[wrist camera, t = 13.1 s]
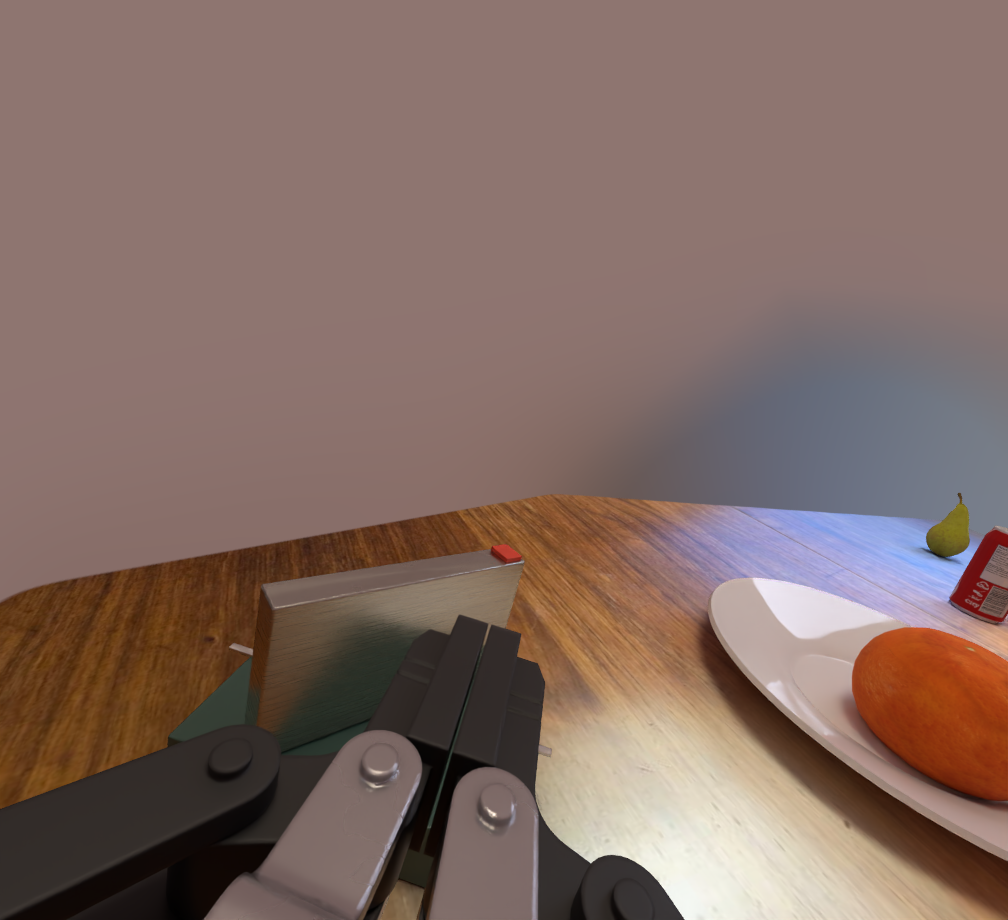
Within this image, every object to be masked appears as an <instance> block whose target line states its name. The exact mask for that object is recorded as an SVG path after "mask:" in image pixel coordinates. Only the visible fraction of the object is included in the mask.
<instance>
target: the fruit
mask: <svg viewBox="0 0 1008 920" xmlns="http://www.w3.org/2000/svg"><path fill="white" fill-rule="evenodd" d="M958 496H959V498H960V503H959V504H958V505H957V506H956V508H955V509H954V510H953V511H951V512H950V513H949V514H948V516H947V517H946V518H945V519H944V520H943V521H942V522H941V523H939V524H937V525H935V526H933V527H932V528H931V529H930V530H929V531H928V533H927V536H926V541H927V545H928V547H929V549H930V550H931V551H932V552H934V553H935V554H937V555H940V556H944V557H950V556H954V555H957V554H959V553H961V552H963V551H964V550H966V548H967V547H968V545H969V542H970V539H969V532H968V527H969V514H968V509H967V507H966V506H965V505H964V504H962V496H961V493H958Z"/></svg>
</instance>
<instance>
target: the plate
mask: <svg viewBox="0 0 1008 920" xmlns="http://www.w3.org/2000/svg"><path fill="white" fill-rule="evenodd" d="M708 615H709V619H710V622H711V625H712V628H713V630H714V632H715V634H716V636H717V638H718V639H719V641H720V643H721V644H722V646H723V647H724V649H725V650H726V652H727V653H728V654H729V656H730V657H731V658H732V660H733V661H734V662H735V664H736V665H737V666H738V667H739V668H740V670H741V671H742V672H743V673H744V674H745V675H746V677H747V678H748V679H749V680H750V681H751V682H752V683H753V684H754V685H755V686H756V687H757V688H758V689H759V690H760V691H761V692H762V694H763V695H765V696H766V697H767V698H768V699H769V700H770V701H771V702H772V703H773V704H774V705H775V706H776V707H777V708H778V709H779V710H780V711H781V712H782V713H784V714H785V715H786V716H787V717H788V718H789V719H791V720H792V721H793V722H794V723H795V724H796V725H797V726H799V727H800V728H801V729H802V730H803V731H804V732H806V733H807V734H808V735H809V736H811V737H812V738H813V739H814V740H816V741H817V742H818V743H819V744H821V745H822V746H823V747H824V748H826V749H827V750H828V751H830V752H831V753H832V754H834V755H835V756H836V757H838V758H839V759H840V760H842V761H843V762H844V763H846V764H847V765H848V766H850V767H851V768H852V769H854V770H855V771H857V772H858V773H859V774H861V775H862V776H864V777H865V778H867V779H868V780H870V781H871V782H873V783H874V784H875V785H877V786H878V787H880V788H881V789H883V790H884V791H886V792H887V793H889V794H890V795H892V796H893V797H895V798H897V799H898V800H900V801H901V802H903V803H904V804H906V805H908V806H909V807H911V808H912V809H914V810H915V811H917V812H919V813H920V814H922V815H924V816H925V817H927V818H929V819H930V820H932V821H934V822H935V823H937V824H939V825H941V826H942V827H944V828H946V829H947V830H949V831H951V832H953V833H954V834H956V835H958V836H960V837H962V838H964V839H965V840H967V841H969V842H971V843H973V844H975V845H976V846H978V847H980V848H982V849H984V850H986V851H988V852H990V853H992V854H994V855H996V856H998V857H1000V858H1002V859H1004V860H1006V861H1008V662H1007V661H1006V660H1004V659H1003V658H1001V657H999V656H998V655H996V654H994V653H993V652H991V651H989V650H987V649H985V648H983V647H981V646H979V645H977V644H975V643H973V642H970V641H968V640H965V639H963V638H960V637H957V636H954V635H952V634H949V633H945V632H942V631H939V630H935V629H930V628H914V627H912V626H910V625H907V624H905V623H903V622H901V621H899V620H896V619H894V618H892V617H890V616H887V615H885V614H883V613H880V612H878V611H875V610H873V609H870V608H868V607H866V606H863V605H860V604H858V603H855V602H853V601H850V600H847V599H844V598H841V597H839V596H836V595H833V594H830V593H826V592H823V591H820V590H817V589H813V588H810V587H806V586H802V585H798V584H794V583H789V582H784V581H779V580H773V579H764V578H739V579H733V580H730V581H727V582H725V583H723V584H721V585H720V586H718V587H717V588H716V589H715V590H714V591H713V592H712V594H711V595H710V597H709V601H708Z"/></svg>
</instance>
